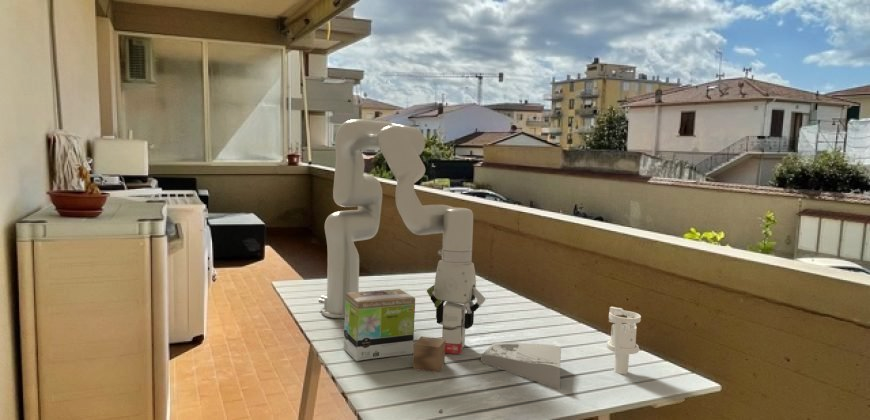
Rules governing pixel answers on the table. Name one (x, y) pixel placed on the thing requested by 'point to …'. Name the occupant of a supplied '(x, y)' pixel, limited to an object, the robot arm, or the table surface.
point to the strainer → (623, 337)
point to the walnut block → (429, 354)
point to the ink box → (453, 327)
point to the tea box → (379, 324)
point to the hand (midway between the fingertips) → (454, 324)
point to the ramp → (527, 361)
